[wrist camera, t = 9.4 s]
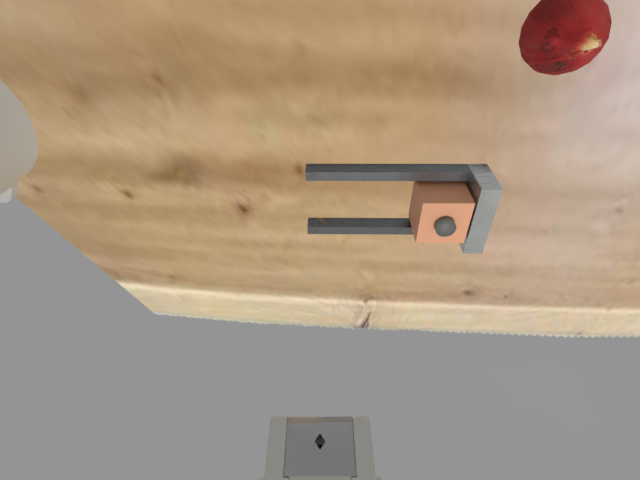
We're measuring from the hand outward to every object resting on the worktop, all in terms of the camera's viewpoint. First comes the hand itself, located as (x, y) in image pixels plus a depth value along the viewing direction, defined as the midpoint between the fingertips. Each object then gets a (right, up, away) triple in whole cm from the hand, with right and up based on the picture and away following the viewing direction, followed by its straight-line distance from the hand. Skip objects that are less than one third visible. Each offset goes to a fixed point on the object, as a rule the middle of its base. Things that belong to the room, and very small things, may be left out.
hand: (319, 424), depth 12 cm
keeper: (+13, +11, +31) cm, 35 cm away
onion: (+18, +24, +21) cm, 36 cm away
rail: (+8, +11, +31) cm, 34 cm away
